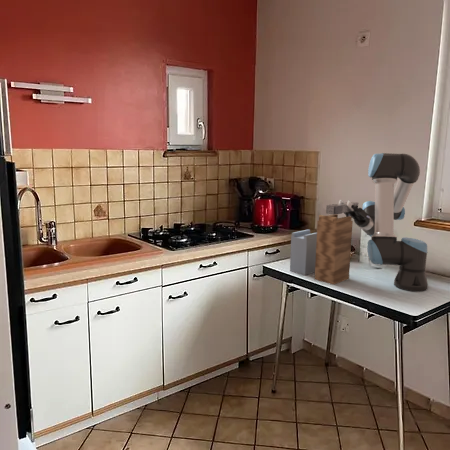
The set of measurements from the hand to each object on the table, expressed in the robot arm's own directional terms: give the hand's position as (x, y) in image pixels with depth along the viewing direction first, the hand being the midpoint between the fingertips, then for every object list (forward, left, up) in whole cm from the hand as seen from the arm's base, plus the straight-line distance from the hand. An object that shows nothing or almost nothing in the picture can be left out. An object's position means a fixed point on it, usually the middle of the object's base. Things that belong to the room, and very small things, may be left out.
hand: (343, 202), depth 229 cm
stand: (0, +7, -39) cm, 39 cm away
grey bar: (0, +1, -5) cm, 5 cm away
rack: (+18, +5, -39) cm, 43 cm away
